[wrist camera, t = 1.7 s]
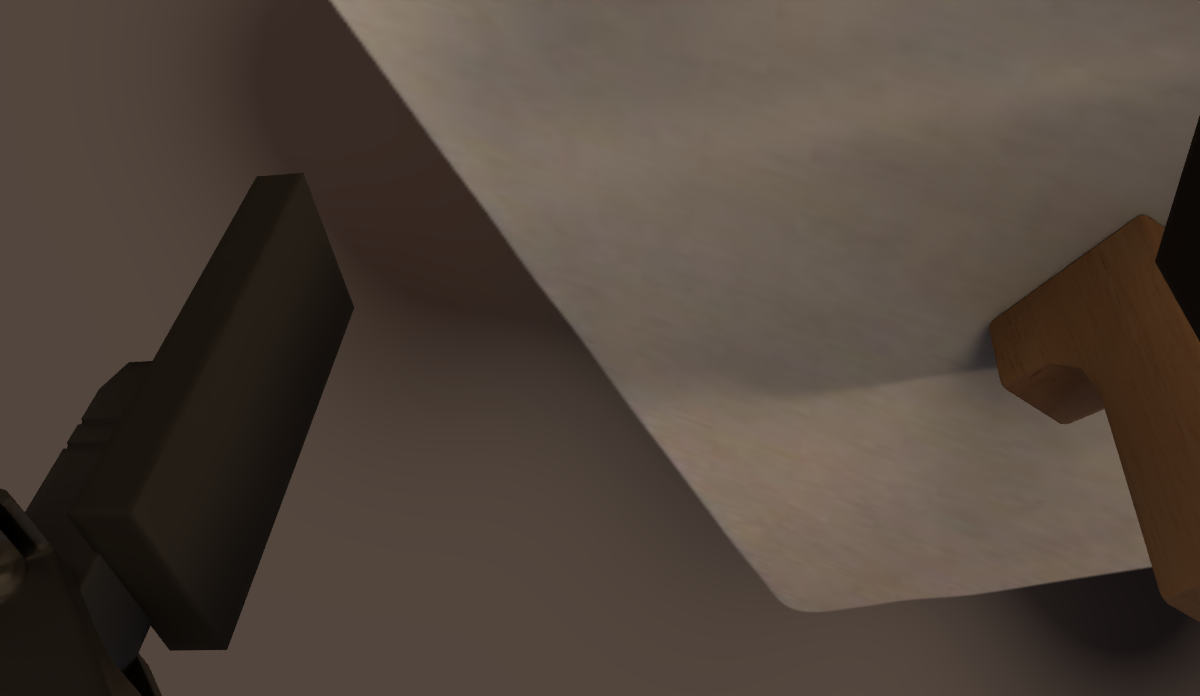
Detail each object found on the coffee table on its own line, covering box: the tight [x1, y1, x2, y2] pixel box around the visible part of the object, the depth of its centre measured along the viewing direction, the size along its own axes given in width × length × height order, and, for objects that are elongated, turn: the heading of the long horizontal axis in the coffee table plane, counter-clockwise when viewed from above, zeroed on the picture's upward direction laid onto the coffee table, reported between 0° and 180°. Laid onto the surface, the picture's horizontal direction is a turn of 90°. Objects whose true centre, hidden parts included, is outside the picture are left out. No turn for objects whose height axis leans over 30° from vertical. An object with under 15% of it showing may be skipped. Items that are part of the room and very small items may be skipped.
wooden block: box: [989, 215, 1200, 622], centre depth 42 cm, size 9×4×18 cm, turn 147°
